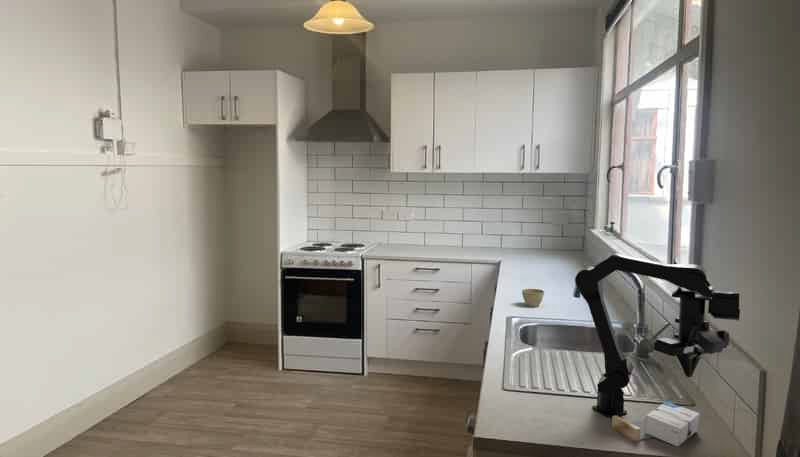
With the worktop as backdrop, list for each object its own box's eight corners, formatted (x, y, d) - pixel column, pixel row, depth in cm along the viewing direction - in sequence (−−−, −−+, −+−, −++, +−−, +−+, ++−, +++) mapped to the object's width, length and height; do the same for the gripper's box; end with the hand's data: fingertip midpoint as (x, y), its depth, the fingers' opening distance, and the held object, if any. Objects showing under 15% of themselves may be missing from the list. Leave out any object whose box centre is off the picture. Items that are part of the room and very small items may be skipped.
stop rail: (611, 427, 150) (612, 416, 149) (615, 426, 150) (616, 415, 150) (636, 441, 142) (636, 429, 142) (639, 440, 143) (640, 428, 142)
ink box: (663, 418, 154) (642, 433, 146) (665, 400, 153) (645, 414, 145) (697, 431, 147) (678, 447, 139) (700, 413, 147) (680, 428, 139)
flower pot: (530, 302, 284) (531, 287, 283) (548, 306, 276) (548, 291, 275) (517, 305, 277) (517, 290, 277) (534, 309, 270) (535, 294, 269)
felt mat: (615, 426, 150) (615, 425, 150) (653, 418, 155) (654, 417, 155) (639, 440, 143) (640, 439, 143) (679, 431, 148) (679, 430, 148)
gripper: (690, 327, 137) (687, 393, 139) (748, 319, 144) (744, 382, 146) (653, 316, 147) (650, 377, 149) (708, 309, 154) (705, 368, 156)
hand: (688, 376), depth 150 cm, fingers closed
